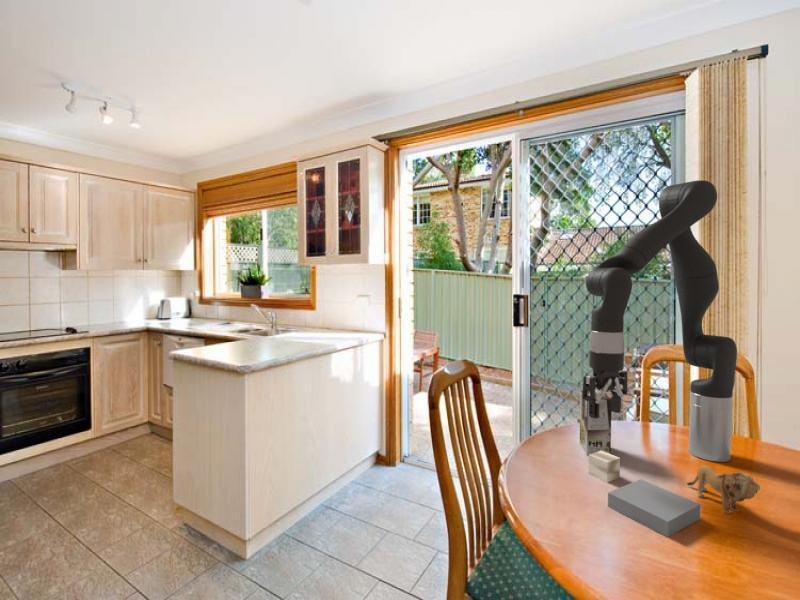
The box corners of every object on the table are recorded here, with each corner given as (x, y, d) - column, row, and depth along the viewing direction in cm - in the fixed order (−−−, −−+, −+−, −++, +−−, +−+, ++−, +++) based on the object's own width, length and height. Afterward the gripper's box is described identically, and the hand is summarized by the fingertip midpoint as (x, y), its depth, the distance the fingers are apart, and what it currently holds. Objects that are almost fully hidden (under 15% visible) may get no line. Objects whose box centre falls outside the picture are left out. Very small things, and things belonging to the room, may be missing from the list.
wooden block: (600, 469, 103) (601, 450, 103) (619, 477, 99) (620, 457, 99) (588, 474, 101) (588, 454, 101) (607, 482, 96) (607, 462, 96)
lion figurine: (764, 520, 81) (766, 476, 80) (744, 524, 80) (745, 479, 79) (695, 484, 95) (696, 447, 95) (677, 487, 94) (678, 449, 93)
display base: (640, 491, 92) (640, 479, 92) (700, 518, 81) (700, 504, 81) (607, 506, 86) (608, 492, 86) (667, 537, 76) (667, 521, 75)
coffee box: (611, 457, 110) (612, 399, 109) (586, 455, 111) (587, 398, 111) (602, 444, 119) (602, 390, 118) (578, 442, 120) (579, 389, 120)
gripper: (610, 345, 105) (608, 406, 106) (574, 349, 98) (572, 415, 99) (638, 349, 99) (637, 414, 99) (602, 354, 92) (600, 424, 92)
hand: (605, 414), depth 99 cm, fingers open, 8 cm apart
